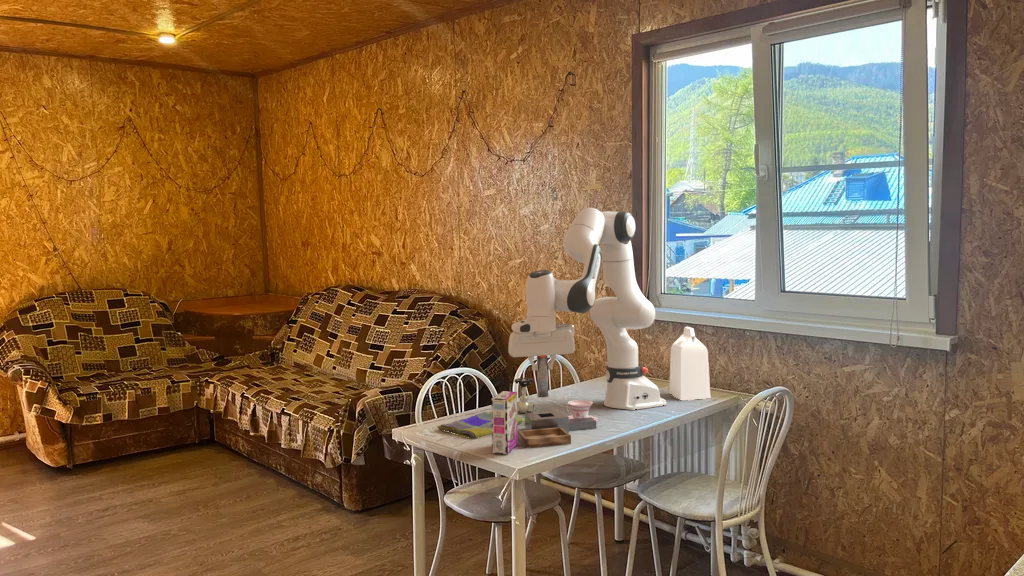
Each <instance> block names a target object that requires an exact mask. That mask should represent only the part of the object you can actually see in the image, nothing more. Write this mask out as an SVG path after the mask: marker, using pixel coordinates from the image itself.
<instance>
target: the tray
mask: <svg viewBox="0 0 1024 576" xmlns="http://www.w3.org/2000/svg"><path fill="white" fill-rule="evenodd" d="M518 439H519V440H518V442H520V443H521V444H522V445H523V446H524V448H526V447H530V448H538V446H540V447H547V446H548V447H551V446H560V445H561V444H562V445H568V444H569V445H570V444H572V435H571V434H570V433H567V432H566V431H565V430H564V429H563V428H562V427H558V428H547V429H535V430H526V429H525V430H524V429H523V430H518Z"/></svg>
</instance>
